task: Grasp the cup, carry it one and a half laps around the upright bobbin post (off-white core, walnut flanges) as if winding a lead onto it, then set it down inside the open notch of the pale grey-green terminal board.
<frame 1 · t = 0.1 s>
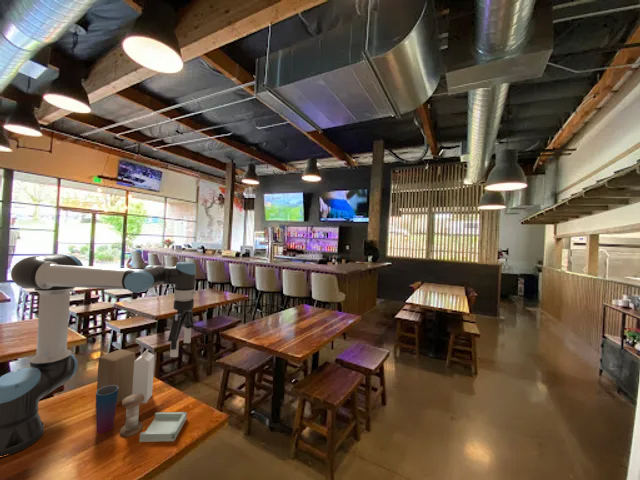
hand: (180, 349, 111), 28 cm above the table, fingers open, 13 cm apart
notch board: (164, 429, 103), on the table
wooden block: (114, 398, 119), on the table
milk: (142, 400, 120), on the table
cup: (104, 429, 101), on the table
bobbin: (131, 430, 102), on the table
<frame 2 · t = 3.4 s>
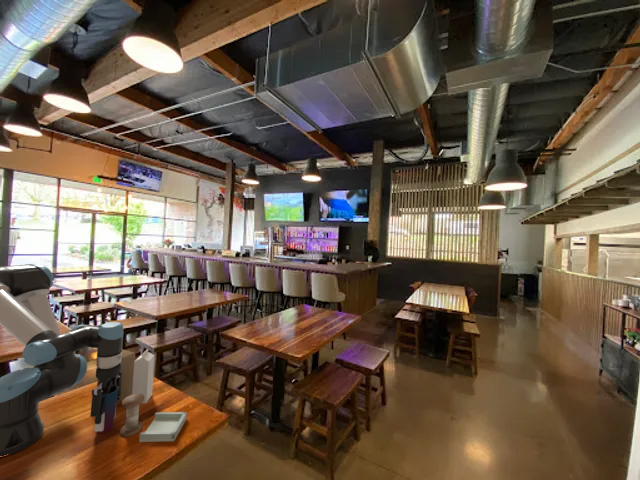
hand: (105, 424, 101), 2 cm above the table, fingers closed on cup, 6 cm apart
cup: (105, 429, 101), on the table, touching gripper
everything else where it was.
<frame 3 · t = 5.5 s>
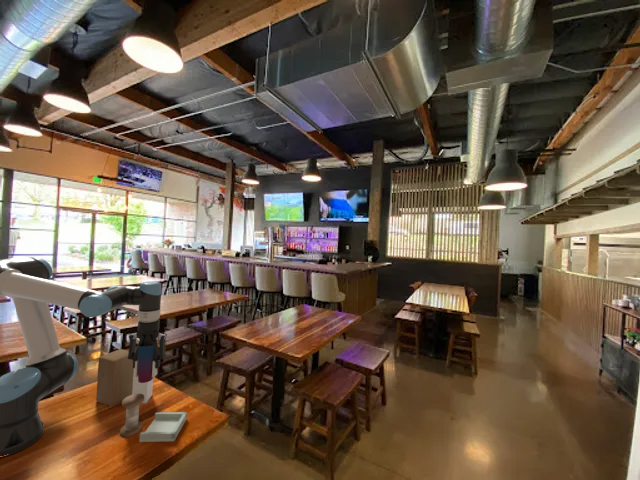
hand: (145, 375, 109), 17 cm above the table, fingers closed on cup, 6 cm apart
cup: (145, 380, 109), point 15 cm above the table, touching gripper
everything else where it was.
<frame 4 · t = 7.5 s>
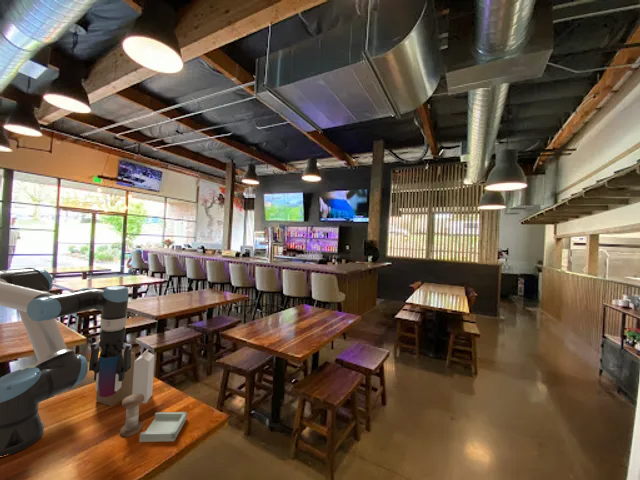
hand: (108, 388, 100), 16 cm above the table, fingers closed on cup, 6 cm apart
cup: (108, 393, 100), point 15 cm above the table, touching gripper
everything else where it was.
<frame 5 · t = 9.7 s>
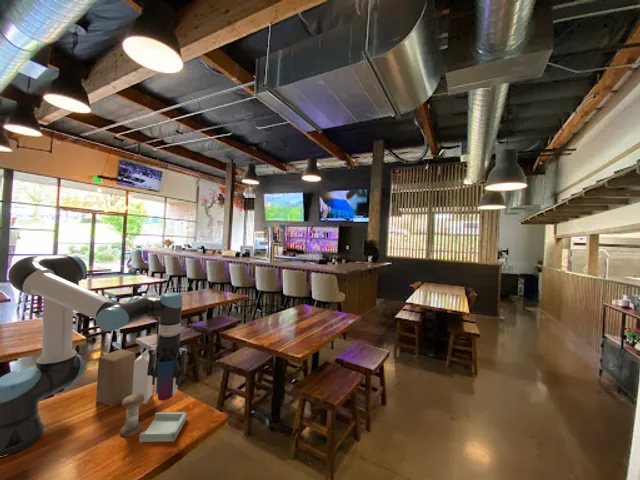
hand: (165, 392, 103), 15 cm above the table, fingers closed on cup, 6 cm apart
cup: (165, 397, 103), point 13 cm above the table, touching gripper
everything else where it was.
when the fingers open (5 cm above the table, at t = 11.6 s): cup drops 2 cm, resting on notch board.
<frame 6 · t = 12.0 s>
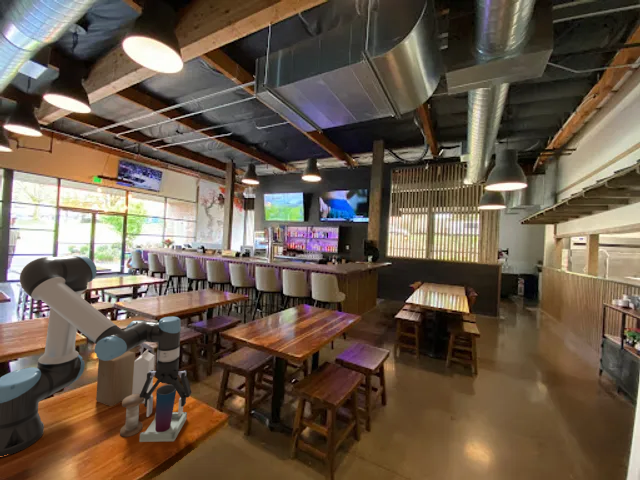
hand: (164, 414, 103), 6 cm above the table, fingers open, 11 cm apart
cup: (162, 428, 103), point 1 cm above the table, touching notch board
everything else where it was.
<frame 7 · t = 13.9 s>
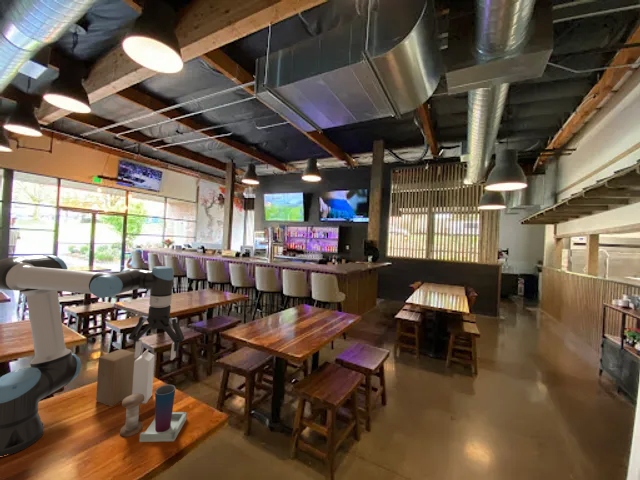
hand: (155, 357, 106), 26 cm above the table, fingers open, 13 cm apart
nothing on the table moved.
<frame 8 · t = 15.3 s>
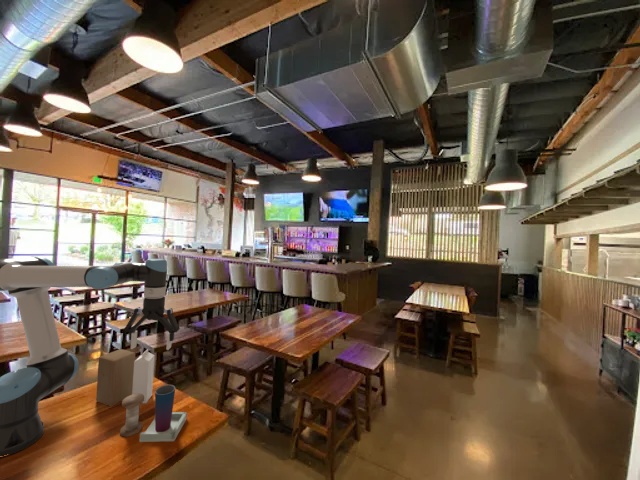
hand: (151, 348, 108), 29 cm above the table, fingers open, 13 cm apart
nothing on the table moved.
at the end: cup inside the target area on the notch board (0.1 cm from its centre), point 0.6 cm above the notch board's base; cup tilted 0°; the gripper is holding nothing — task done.
